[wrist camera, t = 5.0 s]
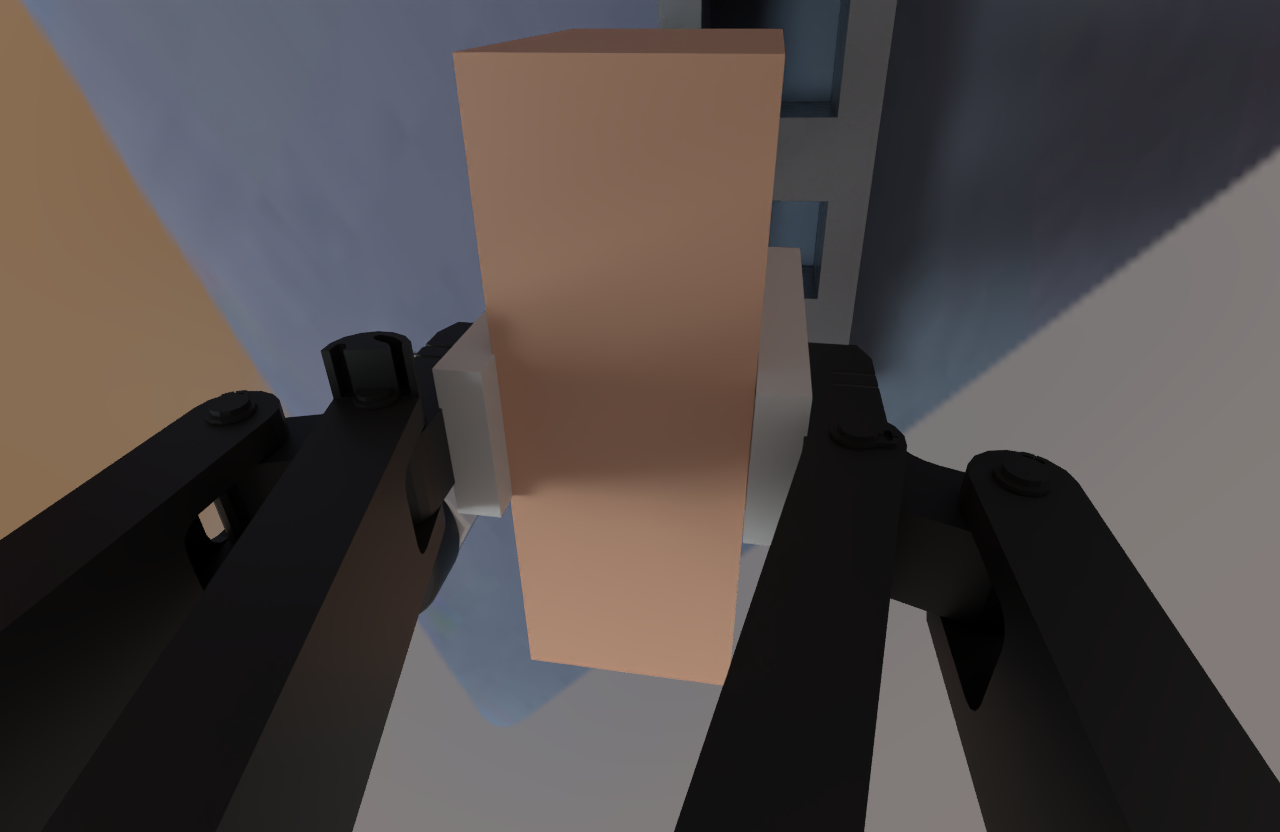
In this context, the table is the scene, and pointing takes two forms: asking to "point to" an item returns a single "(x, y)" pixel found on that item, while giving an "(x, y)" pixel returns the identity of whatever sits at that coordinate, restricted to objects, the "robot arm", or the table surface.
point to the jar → (448, 545)
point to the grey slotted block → (828, 154)
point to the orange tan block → (626, 324)
